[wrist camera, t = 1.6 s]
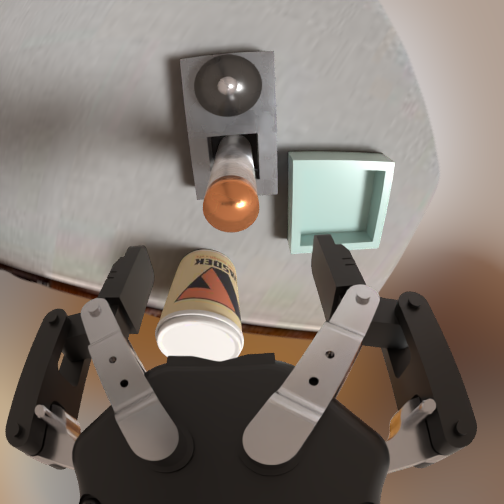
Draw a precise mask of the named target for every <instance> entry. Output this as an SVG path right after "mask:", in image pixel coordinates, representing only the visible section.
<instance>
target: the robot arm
mask: <svg viewBox="0 0 504 504" xmlns="http://www.w3.org/2000/svg"><path fill="white" fill-rule="evenodd" d="M311 267H312V274H313V277H314V281H315V284H316V287H317V291H318V294H319V297H320V301H321V304H322V308H323V311H324V315H325V318H326V322H325V323H324V324H323V325H322V327H321V329H320V330H319V332H318V333H317V335H316V336H315V338H314V339H313V341H312V343H311V344H310V346H309V347H308V349H307V350H306V352H305V353H304V355H303V356H302V358H301V359H300V360H299V362H298V363H297V365H296V366H293V365H291V364H288V363H286V362H282V361H276V360H275V355H274V353H264V354H248V355H244V356H240V357H236V358H232V359H228V360H224V361H214V360H209V359H204V358H200V357H195V356H168V358H167V363H166V364H162V365H159V366H157V367H154V368H152V369H151V370H149V371H147V372H146V370H145V368H144V367H143V365H142V363H141V362H140V360H139V358H138V356H137V354H136V353H135V351H134V349H133V347H132V345H131V343H130V342H129V340H128V337H129V334H138V333H139V329H140V326H141V322H142V319H143V315H144V312H145V309H146V305H147V302H148V299H149V296H150V292H151V289H152V286H153V283H154V271H153V268H152V265H151V262H150V259H149V256H148V252H147V249H146V247H145V246H131V247H129V248H128V250H127V252H126V254H125V256H124V257H121V258H120V259H119V260H118V261H117V262H116V263H115V264H114V265H113V267H112V269H111V271H110V273H109V275H108V277H107V279H106V281H105V283H104V285H103V287H102V289H101V291H100V293H99V295H98V298H96V299H93V300H91V301H89V302H87V303H86V304H85V305H84V307H83V308H82V310H81V313H78V314H74V315H70V316H67V314H66V312H65V311H64V310H63V309H55V310H52V311H51V312H49V313H48V314H47V315H46V316H45V318H44V319H43V322H42V324H41V326H40V328H39V330H38V333H37V335H36V338H35V340H34V342H33V344H32V347H31V349H30V352H29V354H28V357H27V360H26V362H25V365H24V368H23V371H22V373H21V377H20V379H19V382H18V385H17V388H16V391H15V395H14V398H13V401H12V405H11V409H10V412H9V416H8V420H7V424H6V438H7V440H8V442H9V443H10V444H11V445H12V446H13V447H15V448H17V449H19V450H20V451H22V452H24V453H25V454H26V455H28V456H30V457H32V458H33V459H35V460H37V461H39V462H41V463H43V464H46V465H49V466H52V467H54V468H56V469H65V468H69V469H73V470H75V473H76V476H77V480H78V484H79V490H80V502H79V504H380V498H381V492H382V487H383V484H384V481H385V478H386V475H387V473H391V472H395V471H398V470H402V469H405V468H408V467H411V466H414V467H417V468H424V467H427V466H429V465H431V464H433V463H435V462H437V461H440V460H442V459H444V458H445V457H447V456H449V455H451V454H453V453H455V452H456V451H458V450H460V449H462V448H464V447H465V446H467V445H469V444H470V443H471V442H472V440H473V439H474V437H475V435H476V431H477V424H476V420H475V416H474V413H473V410H472V407H471V404H470V401H469V398H468V395H467V392H466V389H465V386H464V383H463V381H462V378H461V375H460V373H459V370H458V368H457V365H456V363H455V361H454V358H453V356H452V353H451V351H450V348H449V346H448V344H447V342H446V339H445V337H444V335H443V333H442V331H441V328H440V326H439V324H438V322H437V320H436V318H435V316H434V314H433V312H432V310H431V308H430V306H429V304H428V302H427V300H426V299H425V298H424V297H423V296H421V295H420V294H418V293H415V292H405V293H403V294H401V295H400V297H399V299H398V300H394V299H386V298H382V297H379V294H378V293H377V291H376V290H374V289H373V288H372V287H370V286H367V285H366V284H365V281H364V279H363V277H362V275H361V273H360V271H359V269H358V267H357V265H356V263H355V261H354V259H353V257H352V255H351V253H350V251H349V250H348V249H347V248H346V247H345V246H343V245H342V244H335V242H334V240H333V238H332V236H331V234H320V235H314V239H313V250H312V261H311ZM362 345H365V346H373V347H381V349H382V352H383V356H384V359H385V362H386V366H387V370H388V373H389V377H390V380H391V384H392V388H393V392H394V396H395V400H396V404H397V408H398V412H397V413H396V414H395V415H394V416H393V417H392V419H391V421H390V426H389V427H390V434H389V437H388V439H387V441H386V442H385V441H384V439H383V438H382V437H381V436H380V435H379V434H378V433H377V432H376V431H374V430H373V429H372V428H371V427H369V426H368V425H367V424H366V423H364V422H363V421H362V420H361V419H360V418H358V417H357V416H356V415H354V414H353V413H352V412H351V411H349V410H348V409H347V408H346V407H345V406H344V405H342V404H341V403H340V402H339V401H338V400H336V397H337V395H338V393H339V391H340V389H341V388H342V386H343V384H344V382H345V380H346V378H347V376H348V374H349V372H350V370H351V367H352V366H353V364H354V362H355V360H356V358H357V356H358V354H359V352H360V349H361V347H362ZM61 352H62V353H63V354H64V357H63V360H62V363H61V366H60V369H59V370H58V361H59V358H60V355H61ZM91 358H92V360H93V363H94V366H95V368H96V370H97V373H98V376H99V378H100V381H101V383H102V385H103V388H104V390H105V392H106V394H107V397H108V399H109V401H110V403H111V406H110V407H109V408H107V409H106V410H105V411H104V412H103V413H102V414H101V415H100V416H99V417H98V418H97V419H96V420H95V421H94V422H93V423H91V424H90V426H88V427H87V428H86V429H85V430H84V431H83V432H82V433H81V428H80V424H79V423H78V421H77V418H78V413H79V408H80V403H81V399H82V394H83V390H84V386H85V381H86V377H87V373H88V370H89V366H90V362H91Z"/></svg>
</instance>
